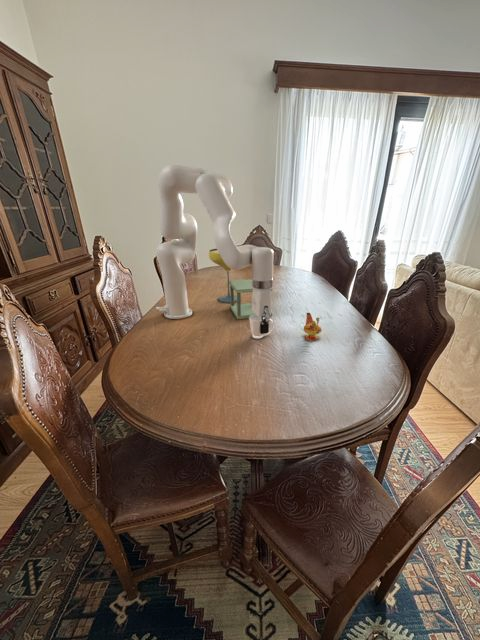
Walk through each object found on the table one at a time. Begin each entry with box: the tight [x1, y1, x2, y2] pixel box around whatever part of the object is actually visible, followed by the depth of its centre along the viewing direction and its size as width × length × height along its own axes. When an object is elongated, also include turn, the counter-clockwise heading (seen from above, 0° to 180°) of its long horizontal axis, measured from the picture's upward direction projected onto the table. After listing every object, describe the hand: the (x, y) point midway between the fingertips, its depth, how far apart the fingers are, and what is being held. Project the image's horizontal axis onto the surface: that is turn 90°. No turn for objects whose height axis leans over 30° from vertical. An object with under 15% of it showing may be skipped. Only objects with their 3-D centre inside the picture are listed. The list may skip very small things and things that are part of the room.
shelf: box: [229, 278, 273, 320], centre depth 134 cm, size 16×16×14 cm
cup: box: [248, 314, 275, 340], centre depth 111 cm, size 7×10×8 cm
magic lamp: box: [303, 312, 323, 342], centre depth 111 cm, size 7×18×11 cm, turn 3°
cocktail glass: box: [208, 248, 237, 304], centre depth 147 cm, size 18×18×25 cm
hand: (261, 329), depth 111 cm, fingers closed on cup, 6 cm apart
